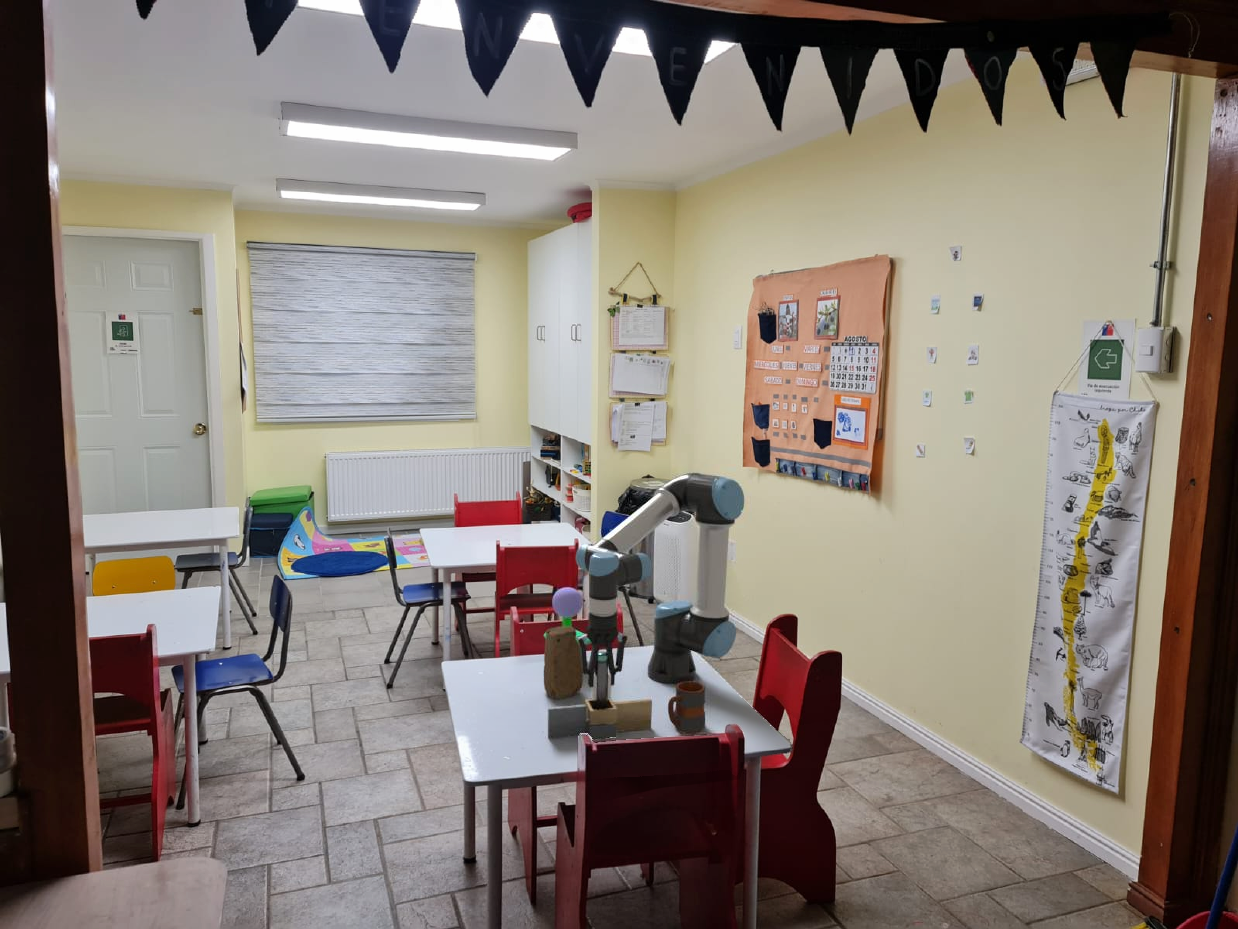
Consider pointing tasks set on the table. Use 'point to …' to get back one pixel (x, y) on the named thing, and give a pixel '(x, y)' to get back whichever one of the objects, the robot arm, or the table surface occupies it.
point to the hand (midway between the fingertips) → (600, 697)
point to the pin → (601, 680)
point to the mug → (688, 707)
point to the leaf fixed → (576, 723)
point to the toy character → (568, 607)
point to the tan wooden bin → (621, 714)
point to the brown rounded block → (562, 663)
